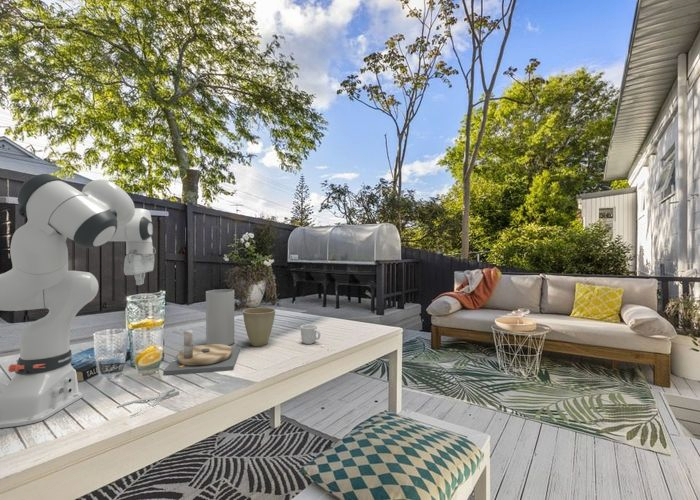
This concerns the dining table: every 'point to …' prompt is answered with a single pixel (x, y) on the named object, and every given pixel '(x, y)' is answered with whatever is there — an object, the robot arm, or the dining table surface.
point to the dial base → (219, 366)
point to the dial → (202, 352)
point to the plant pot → (258, 324)
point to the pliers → (161, 397)
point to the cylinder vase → (220, 317)
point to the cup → (309, 333)
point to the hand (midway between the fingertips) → (139, 284)
